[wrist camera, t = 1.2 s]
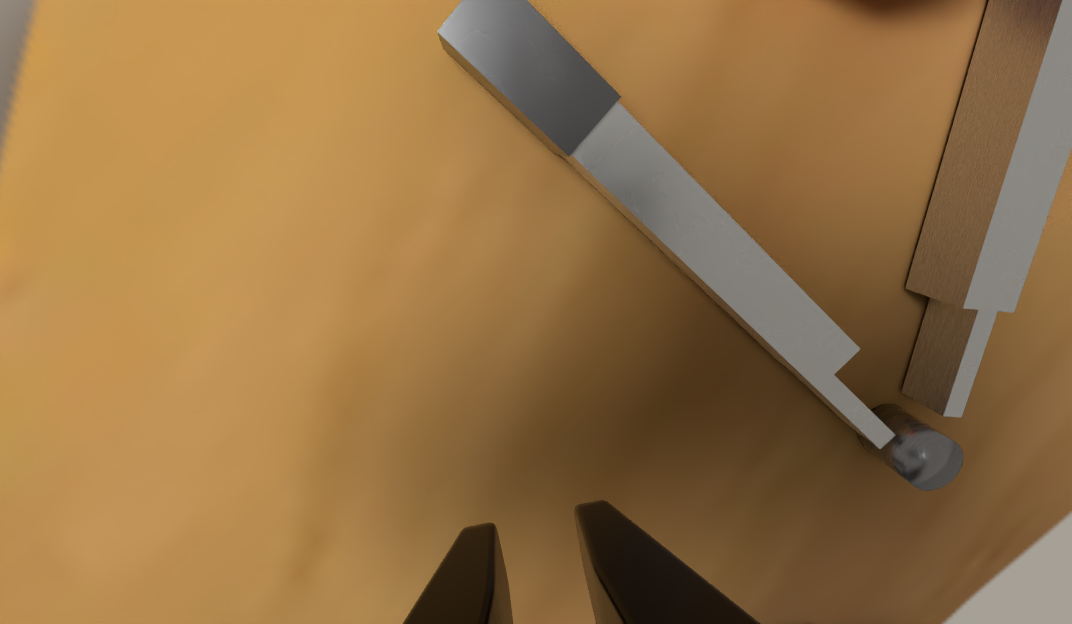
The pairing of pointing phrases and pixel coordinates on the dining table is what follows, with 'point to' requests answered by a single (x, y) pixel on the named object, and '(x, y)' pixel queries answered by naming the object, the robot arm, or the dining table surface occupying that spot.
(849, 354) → the tong leg
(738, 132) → the dining table surface
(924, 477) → the tong base
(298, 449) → the dining table surface
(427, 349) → the dining table surface
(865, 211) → the dining table surface
